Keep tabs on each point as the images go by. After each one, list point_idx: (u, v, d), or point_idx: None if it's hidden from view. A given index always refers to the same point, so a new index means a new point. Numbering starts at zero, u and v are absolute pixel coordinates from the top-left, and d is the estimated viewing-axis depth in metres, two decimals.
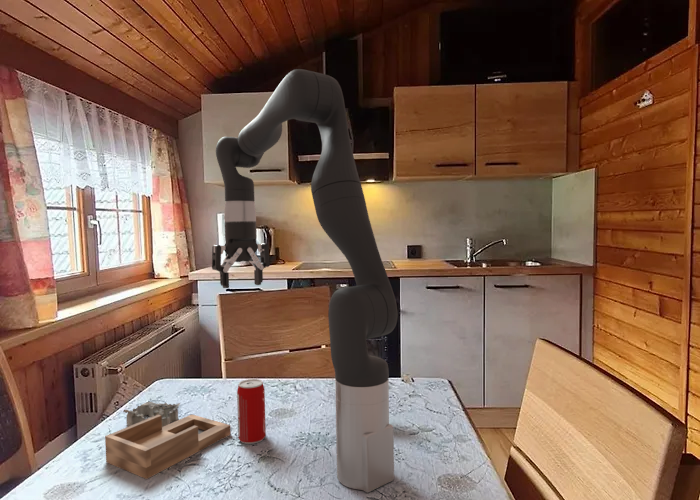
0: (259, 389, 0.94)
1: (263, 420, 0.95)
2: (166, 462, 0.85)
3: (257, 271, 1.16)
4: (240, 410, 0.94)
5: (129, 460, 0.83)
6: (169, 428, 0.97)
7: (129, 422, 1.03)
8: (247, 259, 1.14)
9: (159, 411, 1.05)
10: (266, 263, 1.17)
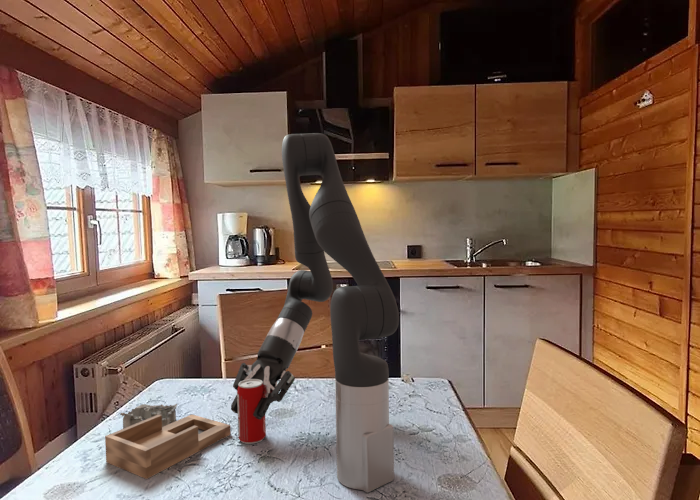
0: (259, 389, 0.94)
1: (263, 420, 0.95)
2: (166, 462, 0.85)
3: None
4: (240, 410, 0.94)
5: (129, 460, 0.83)
6: (169, 428, 0.97)
7: (127, 425, 1.01)
8: (261, 379, 0.98)
9: (157, 413, 1.04)
10: (273, 391, 0.94)
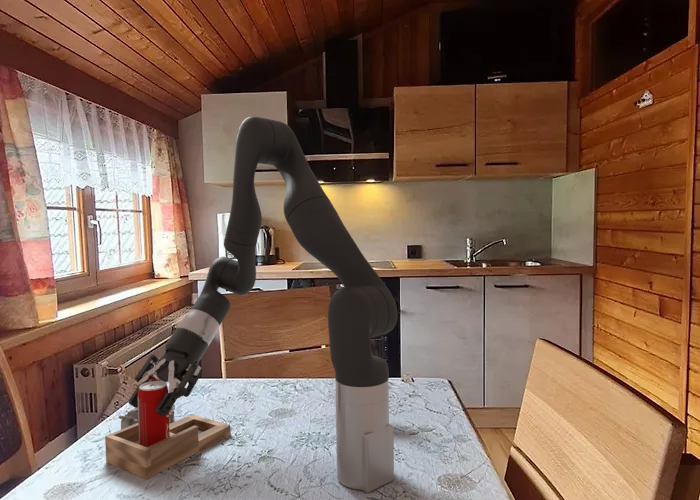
0: (161, 392, 0.88)
1: (166, 425, 0.89)
2: (166, 462, 0.85)
3: None
4: (139, 414, 0.87)
5: (129, 460, 0.83)
6: None
7: None
8: (166, 375, 0.90)
9: None
10: (179, 386, 0.87)
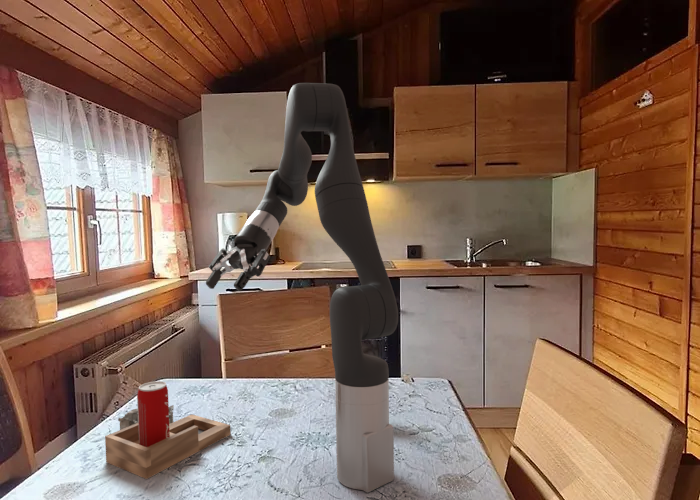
0: (160, 392, 0.87)
1: (165, 426, 0.88)
2: (166, 462, 0.85)
3: None
4: (139, 415, 0.87)
5: (129, 460, 0.83)
6: (169, 428, 0.97)
7: None
8: (238, 261, 1.04)
9: None
10: (252, 266, 1.00)
